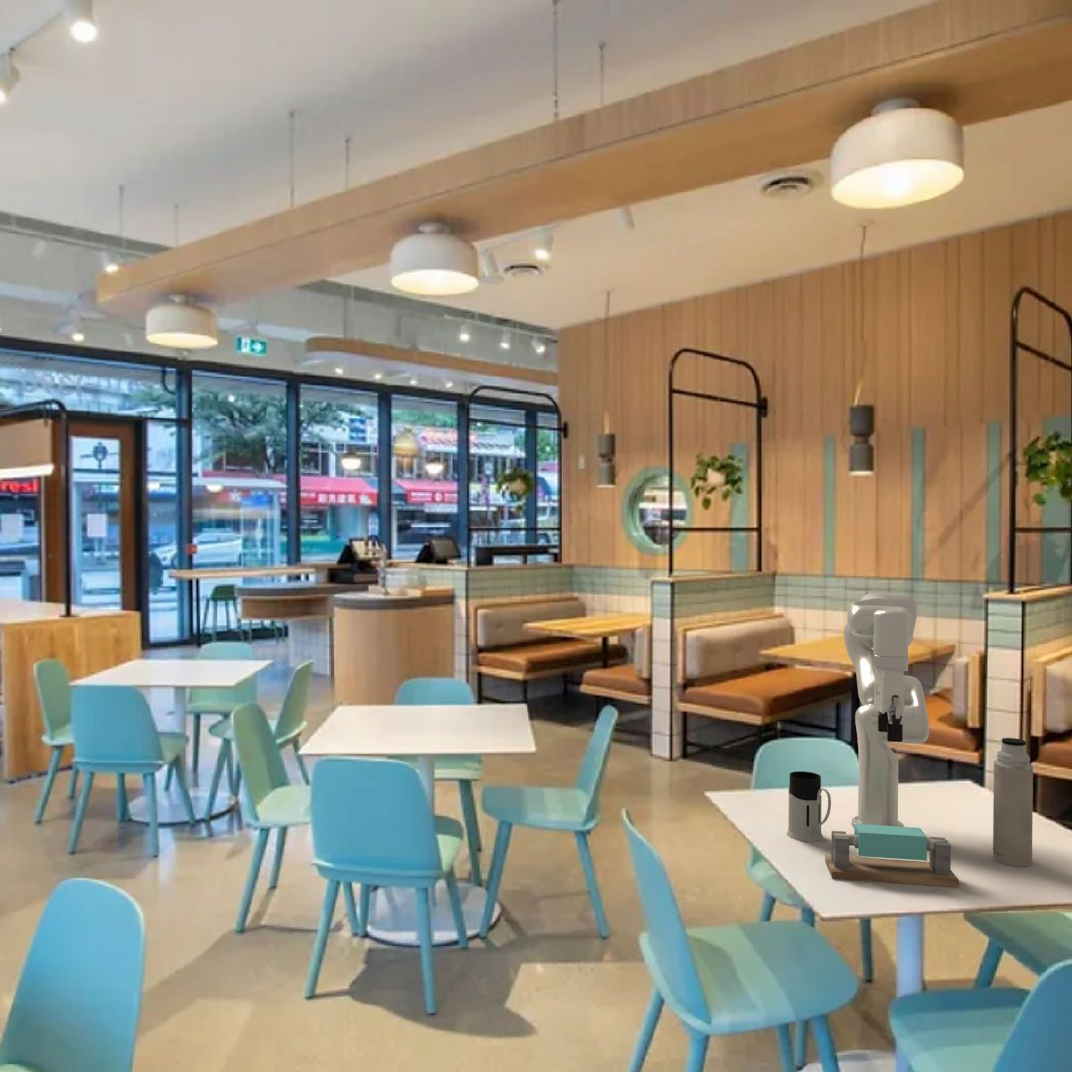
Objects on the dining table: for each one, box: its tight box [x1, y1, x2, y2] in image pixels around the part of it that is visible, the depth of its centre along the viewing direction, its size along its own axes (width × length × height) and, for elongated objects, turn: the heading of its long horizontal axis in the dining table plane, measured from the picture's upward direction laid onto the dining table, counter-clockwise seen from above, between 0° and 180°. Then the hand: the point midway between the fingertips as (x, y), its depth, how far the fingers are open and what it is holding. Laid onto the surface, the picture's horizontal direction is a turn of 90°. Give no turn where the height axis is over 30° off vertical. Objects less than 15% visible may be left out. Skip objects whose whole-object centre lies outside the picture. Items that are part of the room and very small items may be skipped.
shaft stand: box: [824, 830, 960, 888], centre depth 196 cm, size 10×26×8 cm, turn 80°
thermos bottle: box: [992, 737, 1034, 867], centre depth 204 cm, size 8×8×28 cm
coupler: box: [853, 824, 928, 862], centre depth 196 cm, size 6×14×5 cm, turn 80°
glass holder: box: [786, 770, 832, 842], centre depth 218 cm, size 9×14×15 cm, turn 19°
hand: (889, 736), depth 205 cm, fingers open, 9 cm apart
